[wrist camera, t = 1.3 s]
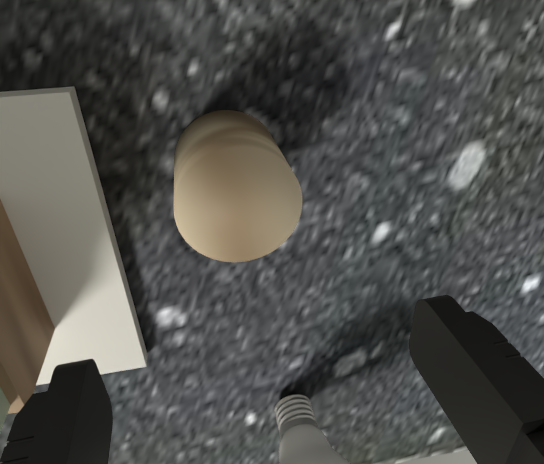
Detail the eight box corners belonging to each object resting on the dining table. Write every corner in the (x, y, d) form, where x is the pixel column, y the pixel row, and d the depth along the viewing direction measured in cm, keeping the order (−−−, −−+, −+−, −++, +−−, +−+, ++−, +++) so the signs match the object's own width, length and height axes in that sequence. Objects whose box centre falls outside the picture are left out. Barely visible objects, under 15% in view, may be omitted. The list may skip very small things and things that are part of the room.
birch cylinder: (275, 105, 19) (302, 140, 15) (278, 200, 22) (301, 253, 18) (166, 114, 19) (163, 154, 15) (182, 212, 21) (183, 269, 17)
